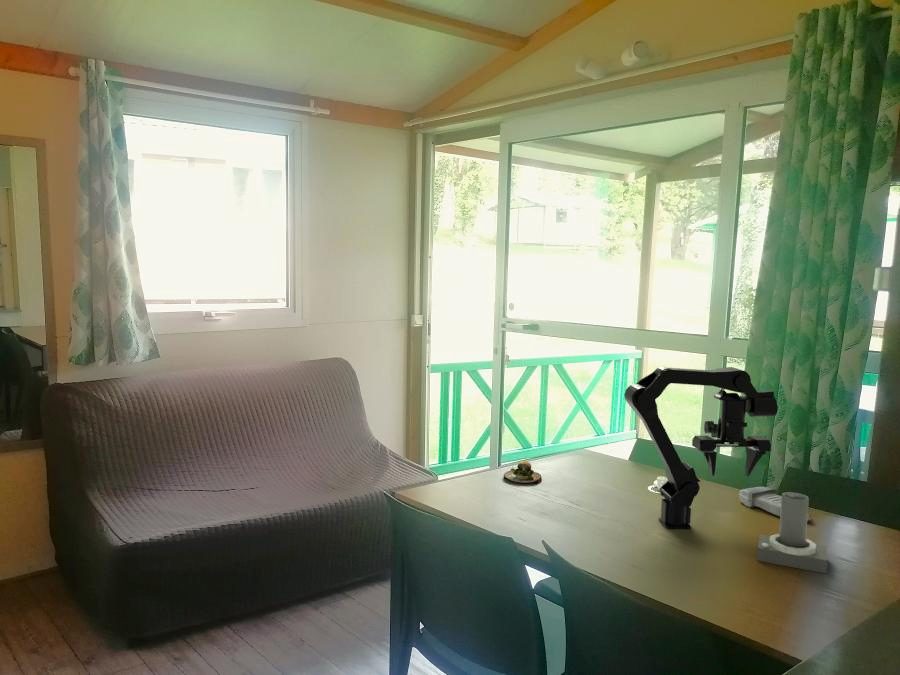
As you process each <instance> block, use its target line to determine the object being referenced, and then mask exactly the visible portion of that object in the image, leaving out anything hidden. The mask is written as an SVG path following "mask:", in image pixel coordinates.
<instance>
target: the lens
mask: <svg viewBox="0 0 900 675" xmlns="http://www.w3.org/2000/svg"><path fill="white" fill-rule="evenodd" d="M781 496H782V500H781V515H780V516H779V518H780V519H779V533H778V534H779V543H780V544H782V545H785V546H788V547H793V548H805V547H806V544H807V541H806V539H807V532H808V530H807V529H808V521H807V518H808V513H809V502H810V501H809V499H810V498H809V496H807V495H806V494H803V493H799V492H791V491H790V492H789V491H787V492H782V493H781Z"/></svg>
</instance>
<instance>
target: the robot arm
mask: <svg viewBox="0 0 900 675" xmlns="http://www.w3.org/2000/svg"><path fill="white" fill-rule="evenodd" d="M751 380H752V379H751V376H750V374H749V373H748V372H747V371H746V370H743V369H740V368H736V367H733V366H727V367H720V368H715V369H709V370H706V369H695V368H694V369H691V368H680V367H679V368H678V367H677V368H676V367H666V366H663V365H662V366H659V367H657V368H656V369H655V370H653V371H652V372H651V373H650V374H648V375H646V376H644V377H643V378H640V380H638V381H637V382H636V383H633V384H631V385H629V386H628V387H627V388H626V389H625V392H624V395H623V396H624V400H625V402H626V403H627V404H628V406H629V407H630V409H632V410H633V411H634V413H635V414H636V415H637V416H638V417H639V419H641V421H642V423H643V425H644V427H645V429H646V431H647V433H648V435H649V437H650V439H651V441H652V442H653V444H654V446H655V449H656V451H657V452H658V454H659V457H660V458H661V460H662V462H663V465H664V466H665V467H664V468H665V477H666V478H667V479H668V481H667V482H666V483H665V484H664V485H663V486H662V487H660V489H659V490H658V491H659V492H660V493H661V494H660V493H659V494H660V496H662V497H663V498H661V506H660V507H661V508H660V510H661V511H660V517H658V521H659V522H660V523H661V524H662V525H663V526H664V527H665V528H666V529H691V528H692V525H691V521H692V520H691V518H692V517H691V516H692V508H691V506H692V504H693V501H694V500H695V497H697V496H698V494H699V492H700V488H701V486H700V484H699V483H700V482H701V480H700V479H699V478H698V476H697V474H696V471H695V469H694V467H693V466H692V465H690V464H689V463H687V462H685V461H683V462H682V460H681V458H680V456H679V454H678V452H677V451H676V448H675V447H674V444H673V443H672V440H671V439H670V437H669V435H668V432H667V430H666V429H665V427H664V425H663V423H662V420H661V419H660V416H659V413H658V412H659V410H658V404H657V402H656V400H657V399H658V398H659V397H660V396H661V395H662V394H663V392H664V391H665V390H666V388H667V387H668V386H669V385H670V384H675V385H676V384H677V385H689V386H691V385H693V386H706V387H709V386H710V387H714V388H715V387H716V388H720V389H719V391H718V392H717V393H715V394H714V395H713V398H714V399H716V400H719V401H721V411H720V412H721V414H720V415H721V416H720V417H719V418H718V422H717V423H715V422H714V420H706V421H704V423H703V424H704V425H703V426H704V427H703V428H704V429H703V430H704V434H710V435H711V436H710V435H694V436H693V437H692V441H691V442H692V443H691V446H693V447H694V448H695V449H696V450H698V451H700V452H701V453H702V454H703V456H704V458H705V461H706V464H707V467H708V470H709V473H710V475H711V476H712V477H714V476H715V473H716V464H717V457H718V456H717V451H715V450H716V449H717V448H720V447H721V448H740V447H741V448H743V447H744V448H745V452H746V456H745V457H746V459H745V472H744V473H745V476H746V477H749V476H750V475H751V473H752V471H753V470H754V469H755V467H756V465H757V463H758V462H759V461H760V460H761V459H762V457H763V456H764V455H767V452H771V451H772V450H773V448H772V447H773V445H772V444H773V443H772V442H771V440H770V439H769V438H766V437H764V436H762V435H748V436H747V437H745V428H747V427H748V422H746V414H747V415H748V416H749V417H751V418H774V417H776V416H777V414H778V410H779V405H778V401H777V399H776V397H775V391H773V390H769V389H767V390H757V389H756V388H755V386H754V385H753V383H752V381H751ZM727 391H730V392H727ZM738 393H740V394H743V395H739V394H738ZM744 395H745V396H744ZM714 438H716V439H714Z"/></svg>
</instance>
